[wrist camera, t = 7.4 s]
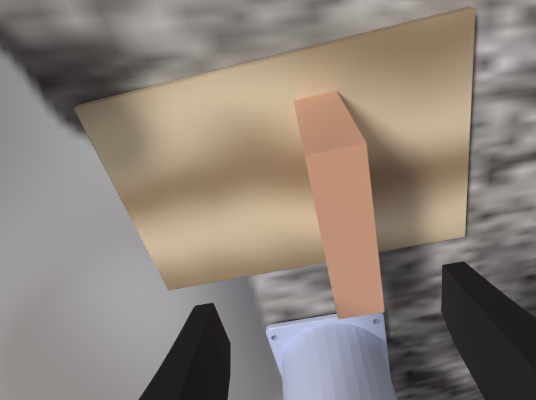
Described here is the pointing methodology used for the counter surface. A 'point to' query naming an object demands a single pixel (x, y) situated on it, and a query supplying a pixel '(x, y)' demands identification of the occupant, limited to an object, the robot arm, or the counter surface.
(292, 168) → the mat
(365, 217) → the tile
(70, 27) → the counter surface
